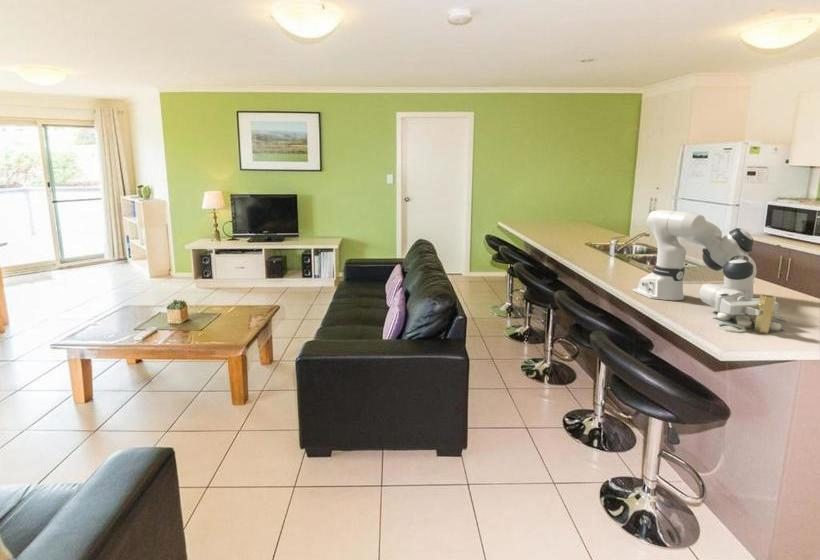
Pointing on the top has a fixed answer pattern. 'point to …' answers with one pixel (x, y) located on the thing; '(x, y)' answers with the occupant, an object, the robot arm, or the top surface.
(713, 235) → the robot arm
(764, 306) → the coupling nut
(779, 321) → the adjustable wrench
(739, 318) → the mat
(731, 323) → the dish
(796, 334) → the top surface
